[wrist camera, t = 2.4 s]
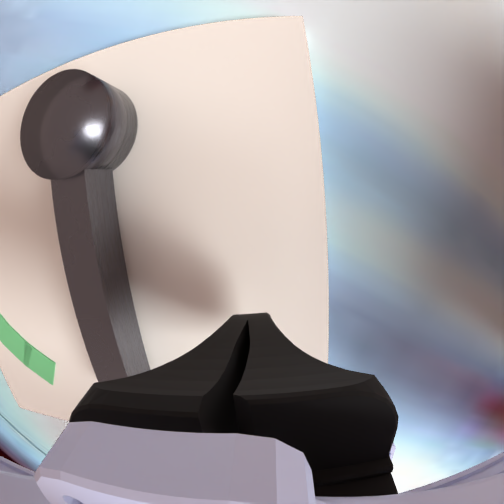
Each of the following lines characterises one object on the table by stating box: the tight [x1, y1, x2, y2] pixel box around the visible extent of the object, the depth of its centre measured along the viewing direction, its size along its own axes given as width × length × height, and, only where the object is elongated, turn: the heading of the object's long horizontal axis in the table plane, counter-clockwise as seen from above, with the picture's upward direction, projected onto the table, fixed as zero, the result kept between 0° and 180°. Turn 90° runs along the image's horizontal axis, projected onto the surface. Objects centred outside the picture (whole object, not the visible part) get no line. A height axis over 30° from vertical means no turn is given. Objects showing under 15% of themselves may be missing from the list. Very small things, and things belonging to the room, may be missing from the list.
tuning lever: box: [20, 69, 150, 382], centre depth 11 cm, size 14×4×3 cm, turn 5°
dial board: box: [0, 16, 329, 421], centre depth 13 cm, size 20×21×1 cm
